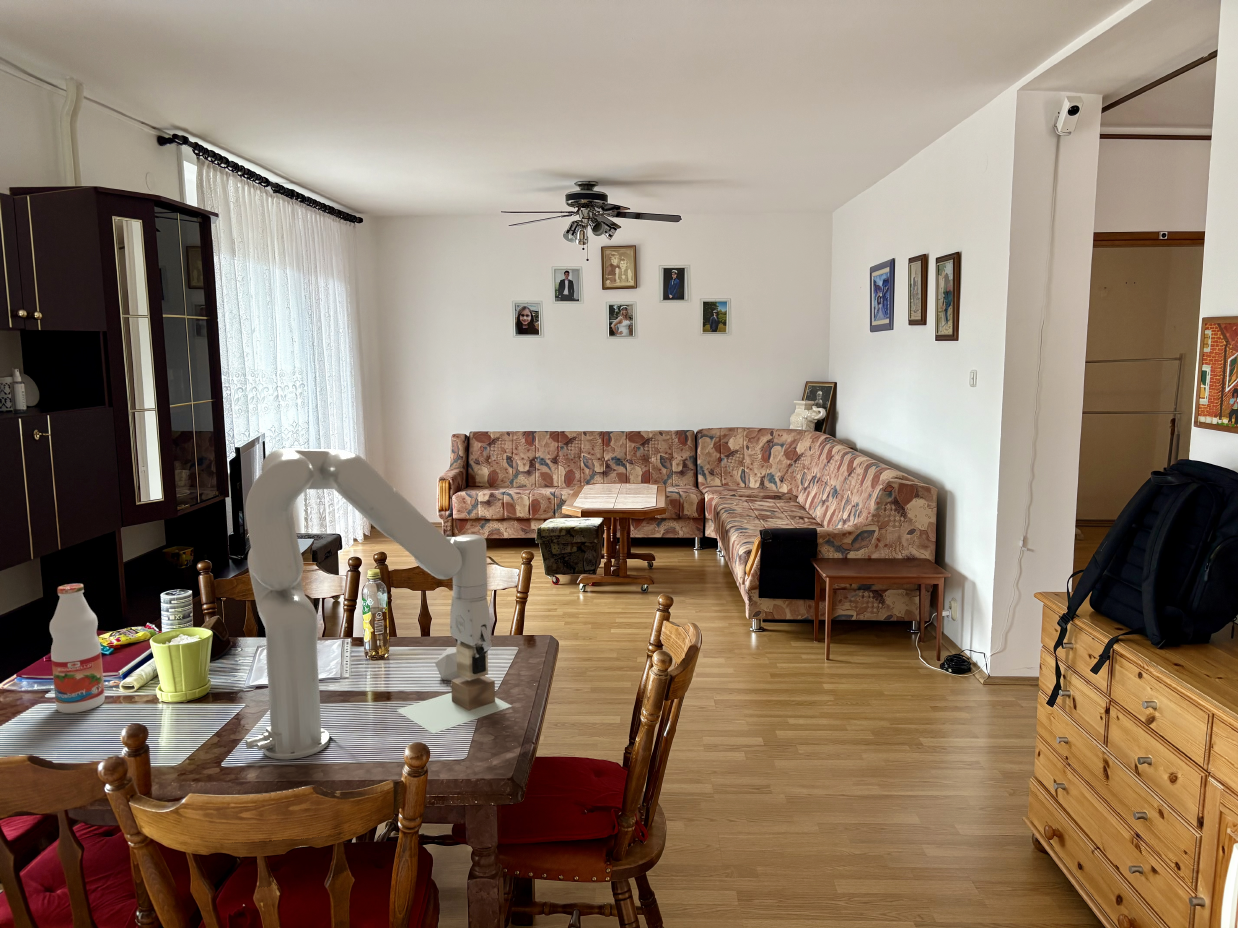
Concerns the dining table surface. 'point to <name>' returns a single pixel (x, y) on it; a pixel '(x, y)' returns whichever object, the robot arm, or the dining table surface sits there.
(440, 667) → the die
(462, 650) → the maple block
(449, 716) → the build board
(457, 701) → the walnut block
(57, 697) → the fruit juice
